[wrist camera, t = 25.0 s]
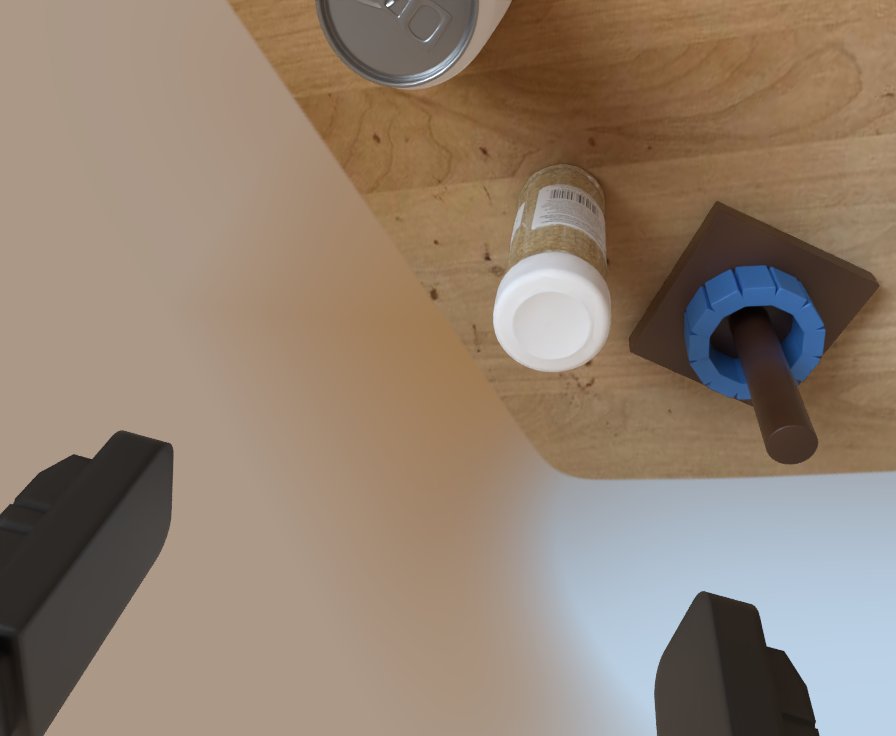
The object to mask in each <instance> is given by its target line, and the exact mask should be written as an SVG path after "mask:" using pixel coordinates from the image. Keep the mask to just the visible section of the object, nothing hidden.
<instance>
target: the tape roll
mask: <svg viewBox="0 0 896 736" xmlns="http://www.w3.org/2000/svg"><path fill="white" fill-rule="evenodd" d="M705 287H706V288H705ZM705 287H703V286H701V287H700V288H699V290H698V291H697V293H696V294H695V296H694V297H693V298H692V300H691V301H690V303H689V304H688V306H687V307H686V311H687V312H685V313H684V338H685V344H686V349H687V354H688V359H689V361H690V365H691V367H692V368H693V370H694V371H695V372H696V374H697V375H698V377H699V378H700V380H701V381H702V382H703V384H704V385H705V384H707V387H708V388H710V389H712V390H714V391H717V392H719V393H721V394H723V395H726V396H728V397H730V398H734V396H735V395H736V398H737V399H738V400H739V399H751V396H750V393H749V390H748V386H747V383H746V380H745V376H744V373H743V370H742V366H741V363H740V360H739V358H732V357H729V356H727V355H725V354H723V353H720V352H718V351H716V350H714V348H713V347H712V346H711V344H710V336H711V334H712V333H713V332H714V330H715V329H716V327H717V326H718V325H719V323H720V322H721V320H722V319H723V318H724V317H726V316H728V315H730V314H732V313H734V312H736V311H738V310H739V309H741V308H743V307H747V306H768V305H772V306H774V307H776V308H779V309H781V310H783V311H785V312H787V313H790V314H792V315H793V317H792V328H791V331H790V332H789V334H788V335H787V336H786V338H785V339H784V340H783V342H782V343H781V344H780V345H781V347H782V350H783V352H784V355H785V357H786V360H787V362H788V365H789V367H790V370H791V373H792V375H793V378H794V380H795V383H796V385H797V386H798V385H799V383H798V380H800V381H802V382H803V381H804V380H805V379H806V377H807V376H808V375H809V374H810V373H811V371H812V370H813V369H814V368H815V366H816V365H817V364H818V363H819V361H820V357H819V356H822V355H823V349H824V340H825V332H826V330H825V328H824V323H823V321H822V319H821V317H820V315H819V313H818V311H817V309H816V307H815V305H814V303H813V301H812V300H811V298H810V296H809V295H808V293H807V291H806V290H805V288H804V286H803V285H802V283H801V282H800V281H797V279H796V277H793V276H791V275H789V274H787V273H785V272H783V271H780V270H778V269H776V268H774V267H770V268H769V270H768V268H767V266H766V265H760V266H743V267H736V268H735V273H734V272H733V270H732V269H729V270H727V271H725V272H723V273H722V274H720V275H718V276H716V277H714V278H713V279H711V280H709V281H707V282H705Z"/></svg>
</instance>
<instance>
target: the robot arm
mask: <svg viewBox="0 0 896 736" xmlns="http://www.w3.org/2000/svg"><path fill="white" fill-rule="evenodd" d="M172 480H173V447H172V445H171V444H170V443H166V442H163V441H159V440H156V439H152V438H148V437H145V436H141V435H137V434H134V433H130V432H127V431H123V430H122V431H118V432H117V433H115V434H114V435H113V436H112V437H111V438H110V439H109V440H108V442H107V443H106V444H105V445H104V446H103V447H102V449H101V450H100V451H99V452H98V453H97V454H96V456H95V457H94V458H93V459H89V458H85V457H82V456H78V455H74V454H73V455H71V456H69V457H68V458H66V459H64V460H62V461H60V462H58V463H57V464H55V465H53V466H51V467H49V468H47V469H46V470H44V471H42V472H40V473H39V474H38V475H37V476H36V477H35V478H34V479H33V480H32V481H31V482H30V483H29V484H28V485H27V487H25V489H24V490H23V491H22V492H21V493H20V494H19V495H18V496H17V497H16V498H15V502H14V504H13V505H12V504H10V505H9V506H8V507H7V508H6V509H5V510H4V511H3V512H2V513H1V514H0V736H43V735H44V734H45V732H46V731H47V729H48V727H49V726H50V724H51V723H52V721H53V720H54V718H55V716H56V715H57V713H58V712H59V710H60V709H61V707H62V706H63V704H64V702H65V701H66V699H67V697H68V696H69V695H70V693H71V692H72V690H73V688H74V687H75V685H76V684H77V682H78V681H79V679H80V678H81V676H82V674H83V673H84V671H85V670H86V668H87V667H88V665H89V663H90V662H91V660H92V659H93V657H94V656H95V654H96V653H97V651H98V650H99V648H100V646H101V645H102V643H103V642H104V640H105V638H106V637H107V635H108V634H109V632H110V631H111V629H112V628H113V626H114V625H115V623H116V621H117V620H118V618H119V617H120V615H121V614H122V612H123V610H124V609H125V607H126V606H127V604H128V603H129V601H130V600H131V598H132V596H133V595H134V593H135V592H136V590H137V589H138V587H139V586H140V584H141V582H142V581H143V579H144V578H145V576H146V575H147V573H148V571H149V570H150V568H151V567H152V565H153V564H154V562H155V561H156V559H157V557H158V556H159V554H160V552H161V550H162V547H163V545H164V543H165V540H166V537H167V534H168V531H169V527H170V522H171V510H172V482H173V481H172ZM654 695H655V696H654V697H655V711H656V726H657V736H819V732H818V729H816V728H815V723H816V720H815V717H814V713H813V709H812V705H811V701H810V698H809V694H808V690H807V686H806V684H805V683H804V681H803V680H802V678H801V677H800V675H799V673H798V672H797V670H796V669H795V667H794V666H793V664H792V663H791V661H790V659H789V658H788V656H787V655H786V653H785V652H784V651H782V650H778V649H774V648H771V647H767V646H766V642H765V638H764V633H763V629H762V624H761V620H760V616H759V612H758V610H757V608H756V607H755V606H754V605H752V604H748V603H745V602H741V601H737V600H734V599H730V598H727V597H723V596H719V595H715V594H712V593H708V592H705V591H702V592H700V593H699V594H698V595H697V596H696V597H695V599H694V600H693V602H692V604H691V605H690V607H689V609H688V611H687V612H686V614H685V616H684V618H683V619H682V621H681V623H680V625H679V626H678V628H677V630H676V632H675V634H674V635H673V637H672V639H671V641H670V642H669V644H668V646H667V647H666V649H665V651H664V653H663V655H662V657H661V660H660V662H659V666H658V670H657V674H656V680H655V691H654Z"/></svg>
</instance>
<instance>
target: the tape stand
mask: <svg viewBox="0 0 896 736" xmlns="http://www.w3.org/2000/svg"><path fill="white" fill-rule="evenodd" d="M760 265H766V266H767V268H768V270H769V268H770V267H774V268H776V269H778V270H780V271H783V272H785V273H787V274H789V275H791V276H793V277H796V279H797V281H800V282H801V283H802V285H803V286H804V288H805V290H806V291H807V293H808V295H809V296H810V298H811V300H812V301H813V303H814V305H815V307H816V309H817V311H818V313H819V315H820V317H821V319H822V321H823V323H824V328H825V330H826V332H825V340H824V349H823V354H824V353H825V352H826V351H827V350H828V348H829V347H830V346H831V345H832V343H833V342H834V341H835V340H836V339H837V337H838V336H839V335H840V334H841V332H842V331H843V330H844V329H845V328H846V326H847V325H848V324H849V323H850V321H851V320H852V319H853V318H854V316H855V315H856V314H857V313H858V312H859V310H860V309H861V308H862V307H863V305H864V304H865V303H866V302H867V301H868V299H869V298H870V297H871V296H872V294H873V293H874V292H875V291H876V290H877V288H878V287H879V284H878V282H877V281H876V279H875V278H874V276H873V275H872V274H871V273H870V272H868V271H866V270H864V269H861V268H859V267H857V266H855V265H853V264H851V263H849V262H846V261H844V260H842V259H840V258H838V257H836V256H834V255H831V254H829V253H827V252H825V251H823V250H821V249H819V248H816V247H814V246H812V245H810V244H808V243H806V242H804V241H801V240H799V239H797V238H795V237H793V236H791V235H789V234H786V233H784V232H782V231H780V230H778V229H776V228H774V227H771V226H769V225H767V224H765V223H763V222H761V221H759V220H756V219H754V218H752V217H750V216H748V215H746V214H744V213H741V212H739V211H737V210H735V209H733V208H731V207H729V206H726V205H724V204H722V203H720V202H718V201H717V202H716V203H715V204H714V206H713V208H712V209H711V211H710V212H709V214H708V215H707V217H706V219H705V220H704V222H703V223H702V225H701V226H700V228H699V230H698V231H697V233H696V234H695V236H694V237H693V239H692V241H691V242H690V244H689V245H688V247H687V248H686V250H685V251H684V253H683V255H682V256H681V258H680V259H679V261H678V262H677V264H676V266H675V267H674V269H673V270H672V272H671V273H670V275H669V277H668V278H667V280H666V281H665V283H664V284H663V286H662V288H661V289H660V291H659V292H658V294H657V295H656V297H655V299H654V300H653V302H652V303H651V305H650V306H649V308H648V309H647V311H646V313H645V314H644V316H643V317H642V319H641V320H640V322H639V324H638V325H637V327H636V328H635V330H634V331H633V333H632V335H631V336H630V338H629V346H630V352H632V353H634V354H636V355H639V356H641V357H643V358H645V359H648V360H650V361H652V362H654V363H657V364H659V365H661V366H663V367H666V368H668V369H670V370H672V371H674V372H677V373H679V374H681V375H683V376H686V377H688V378H690V379H692V380H695V381H697V382H699V383H701V384H703V382H702V381H701V380H700V378H699V377H698V375H697V374H696V372H695V371H694V370H693V368H692V367H691V365H690V361H689V359H688V354H687V349H686V344H685V338H684V313H685V312H687V311H686V307H687V306H688V304H689V303H690V301H691V300H692V298H693V297H694V296H695V294H696V293H697V291H698V290H699V288H700V287H701V286H703V287H705V282H707V281H709V280H711V279H713V278H714V277H716V276H718V275H720V274H722V273H723V272H725V271H727V270H729V269H732V270H733V272H734V273H735V268H736V267H743V266H760ZM705 288H706V287H705ZM792 317H793V315H792V314H790V313H787V312H785V311H783V310H781V309H779V308H776V307H774V306H772V305H768V306H747V307H743V308H741V309H739V310H738V311H736V312H734V313H732V314H730V315H728V316H726V317H724V318H723V319H722V320H721V322H720V323H719V325H718V326H717V327H716V329H715V330H714V332H713V333H712V334H711V336H710V344H711V346H712V347H713V348H714V350H716V351H718V352H720V353H723V354H725V355H727V356H729V357H732V358H739V360H740V363H741V366H742V370H743V373H744V376H745V380H746V383H747V386H748V390H749V393H750V396H751V399H739V401H742V402H744V403H746V404H748V405H751V406H753V407H754V410H755V413H756V417H757V420H758V423H759V427H760V430H761V433H762V437H763V440H764V443H765V447H766V450H767V453H768V454H769V456H770V457H771V458H772V459H774V460H775V461H777V462H779V463H783V464H797V463H801V462H803V461H806V460H807V459H809V458H810V457H811V456H812V455H813V454H814V453H815V451H816V449H817V446H818V439H817V436H816V433H815V431H814V428H813V426H812V423H811V421H810V418H809V415H808V413H807V410H806V408H805V405H804V403H803V400H802V398H801V395H800V393H799V390H798V388H797V385H796V383H795V380H794V378H793V375H792V373H791V370H790V367H789V365H788V362H787V360H786V357H785V355H784V352H783V350H782V347H781V345H780V344H781V343H782V342H783V340H784V339H785V338H786V336H787V335H788V334H789V332H790V331H791V328H792ZM822 356H823V355H822ZM822 356H819V357H820V358H821V357H822ZM798 383H799V384H800V383H801V381H800V380H798ZM705 385H706V386H707V384H705ZM734 398H735V399H737V398H736V395H735V396H734ZM737 400H738V399H737Z"/></svg>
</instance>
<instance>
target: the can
mask: <svg viewBox="0 0 896 736" xmlns="http://www.w3.org/2000/svg"><path fill="white" fill-rule="evenodd" d="M315 1H316V9H317V14H318V18H319V22H320V25H321V28H322V30H323V33H324V35H325V37H326V39H327V41H328V43H329V44H330V46H331V48H332V49H333V50H334V52H335V53H336V55H337V56H338V57H339V58H340V59H341V60H342V61H343V63H344V64H346V65H347V66H348V67H349V68H350V69H351V70H352V71H354V72H355V73H357V74H358V75H360V76H361V77H363V78H365V79H367V80H369V81H371V82H373V83H376V84H379V85H382V86H387V87H393V88H398V89H423V88H428V87H432V86H435V85H438V84H440V83H443V82H445V81H447V80H449V79H450V78H452V77H454V76H455V75H457V74H458V73H460V72H461V71H462V70H463V69H464V68H466V67H467V66H468V65H469V64H470V63H471V62H472V60H473V59H474V58H475V57H476V56H477V55H478V53H479V52H480V51H481V49H482V48H483V46H484V45H485V44H486V42H487V41H488V39H489V38H490V36H491V35H492V33H493V32H494V30H495V29H496V27H497V25H498V24H499V22H500V21H501V19H502V18H503V16H504V14H505V13H506V11H507V9H508V7H509V6H510V3H511V1H512V0H315Z"/></svg>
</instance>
